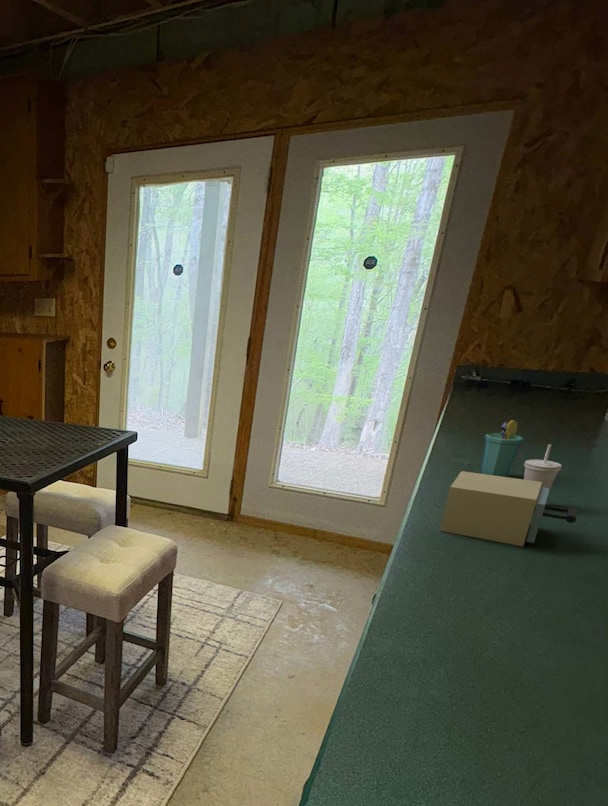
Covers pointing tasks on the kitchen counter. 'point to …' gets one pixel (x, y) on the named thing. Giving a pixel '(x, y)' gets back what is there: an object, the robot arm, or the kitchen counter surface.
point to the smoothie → (542, 471)
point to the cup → (501, 450)
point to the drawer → (547, 514)
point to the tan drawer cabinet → (490, 507)
